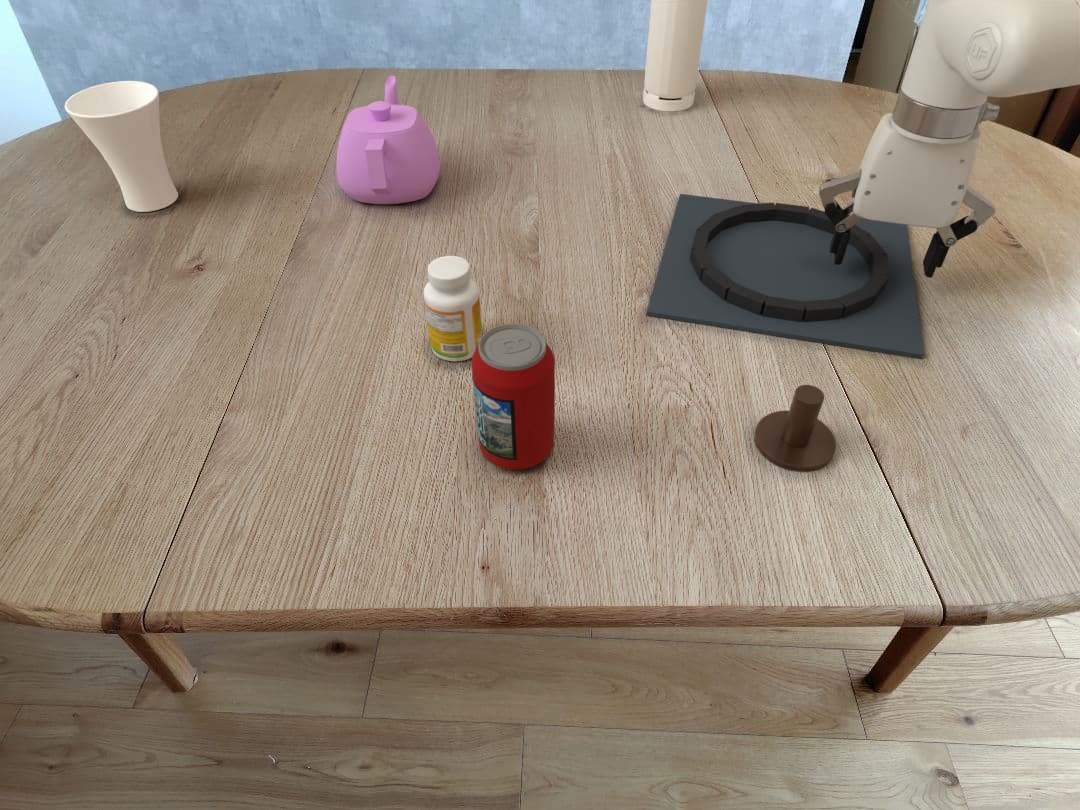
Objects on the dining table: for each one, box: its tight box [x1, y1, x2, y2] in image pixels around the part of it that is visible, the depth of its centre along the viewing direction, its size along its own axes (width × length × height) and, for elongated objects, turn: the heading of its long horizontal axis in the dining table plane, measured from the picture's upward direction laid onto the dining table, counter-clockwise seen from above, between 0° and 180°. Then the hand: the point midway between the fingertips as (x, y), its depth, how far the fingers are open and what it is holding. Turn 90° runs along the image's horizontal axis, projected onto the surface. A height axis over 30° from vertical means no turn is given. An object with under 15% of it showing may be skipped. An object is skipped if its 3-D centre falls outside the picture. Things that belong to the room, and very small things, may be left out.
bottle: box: [642, 0, 708, 112], centre depth 113 cm, size 8×8×28 cm
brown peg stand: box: [754, 384, 837, 473], centre depth 67 cm, size 7×7×6 cm
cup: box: [64, 80, 179, 213], centre depth 96 cm, size 10×10×14 cm
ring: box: [690, 202, 890, 322], centre depth 88 cm, size 22×22×2 cm
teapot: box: [336, 75, 441, 205], centre depth 100 cm, size 13×20×11 cm
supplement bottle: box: [423, 255, 484, 362], centre depth 76 cm, size 5×5×10 cm
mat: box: [645, 193, 925, 360], centre depth 89 cm, size 28×26×1 cm
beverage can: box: [470, 323, 556, 470], centre depth 65 cm, size 7×7×12 cm
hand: (881, 264), depth 85 cm, fingers open, 9 cm apart
